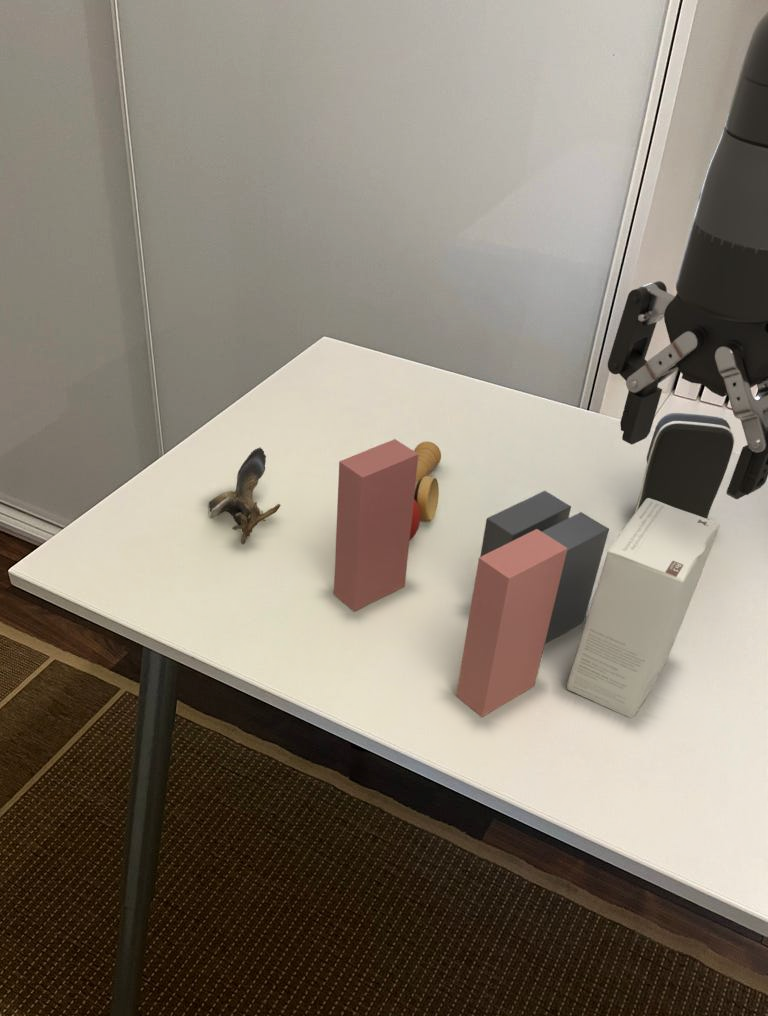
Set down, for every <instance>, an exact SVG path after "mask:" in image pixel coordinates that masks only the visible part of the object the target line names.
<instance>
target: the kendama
mask: <svg viewBox="0 0 768 1016" xmlns="http://www.w3.org/2000/svg"><path fill="white" fill-rule="evenodd" d="M413 451H415V452H416V453H418V454H419V455H418V465H417V474H416V484H415V493H414V503H413V512H412V522H411V531H410V541H412V540H413V538H414V537H415V536H416V534H417V532H418V531H419V528H420V524H421V522H422V523H430V522H432V521H433V520H434V518H435V516H436V514H437V509H438V504H439V494H440V491H439V489H440V488H439V487H440V486H439V481H438V478H437V477H435V476H431V475H430V474H431V472H432V471H433V470H434V469H435V468H436V467H437V466H438V465H439V463H440V462H441V460H442V452H441V450H440V447H439V446H438V445H437V444H435V443H434V442H432V441H422V442H420V443H419V444H417V445H416V447H415V448H414V450H413ZM429 475H430V476H429Z"/></svg>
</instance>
